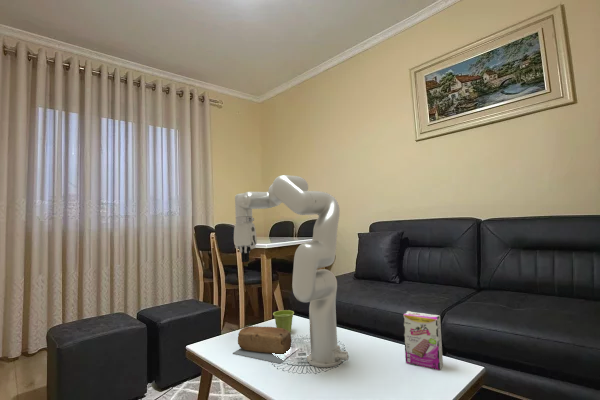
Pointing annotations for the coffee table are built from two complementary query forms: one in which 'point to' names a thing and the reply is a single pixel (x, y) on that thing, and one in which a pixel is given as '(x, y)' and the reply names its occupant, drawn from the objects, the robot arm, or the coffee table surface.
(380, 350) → the coffee table surface
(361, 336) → the coffee table surface
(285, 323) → the plant pot
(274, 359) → the mat
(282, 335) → the block
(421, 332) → the candy bar box
